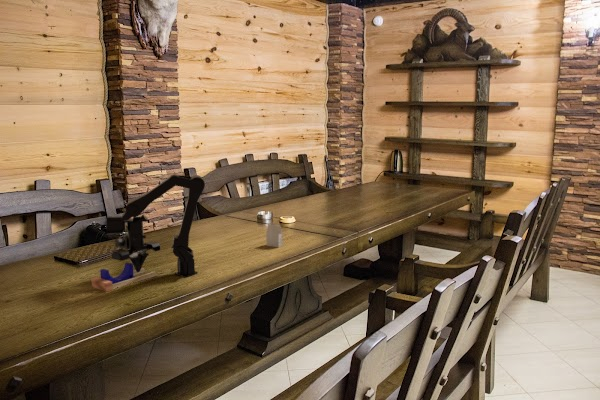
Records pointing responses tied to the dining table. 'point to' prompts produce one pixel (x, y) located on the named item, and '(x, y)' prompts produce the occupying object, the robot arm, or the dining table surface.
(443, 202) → the dining table surface
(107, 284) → the guide track
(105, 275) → the blue cradle block
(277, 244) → the grey upright block
